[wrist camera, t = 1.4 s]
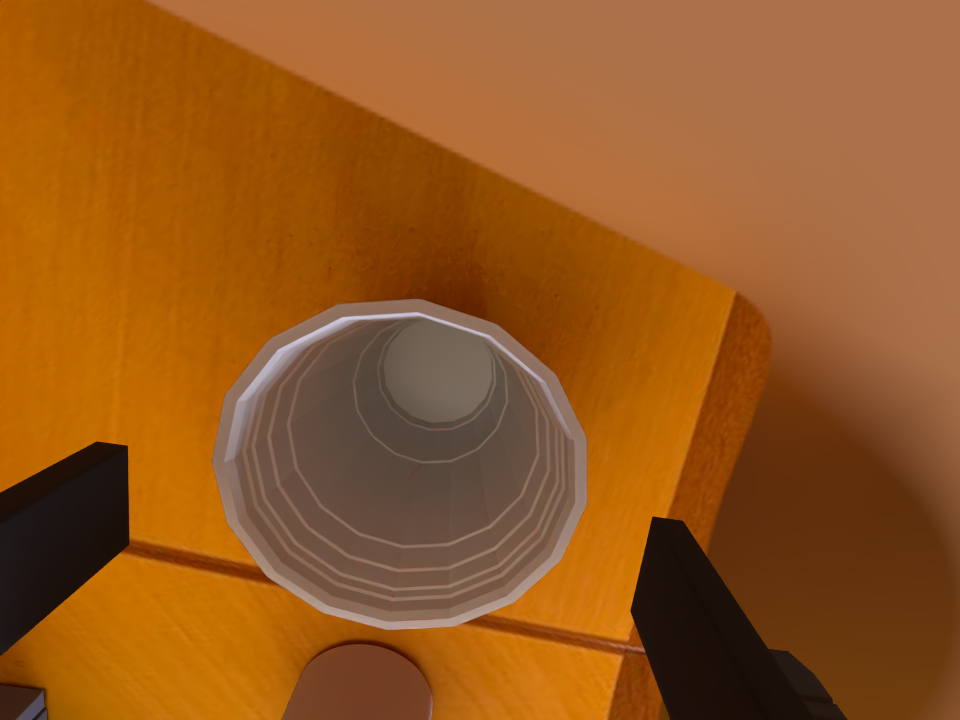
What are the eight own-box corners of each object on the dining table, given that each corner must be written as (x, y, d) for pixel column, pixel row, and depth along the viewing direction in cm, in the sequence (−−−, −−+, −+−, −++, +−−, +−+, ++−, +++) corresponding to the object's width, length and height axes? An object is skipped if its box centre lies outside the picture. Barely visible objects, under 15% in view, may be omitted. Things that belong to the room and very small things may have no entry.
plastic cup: (369, 495, 28) (284, 682, 17) (300, 297, 26) (145, 355, 14) (570, 447, 28) (628, 609, 16) (519, 237, 25) (542, 248, 13)
